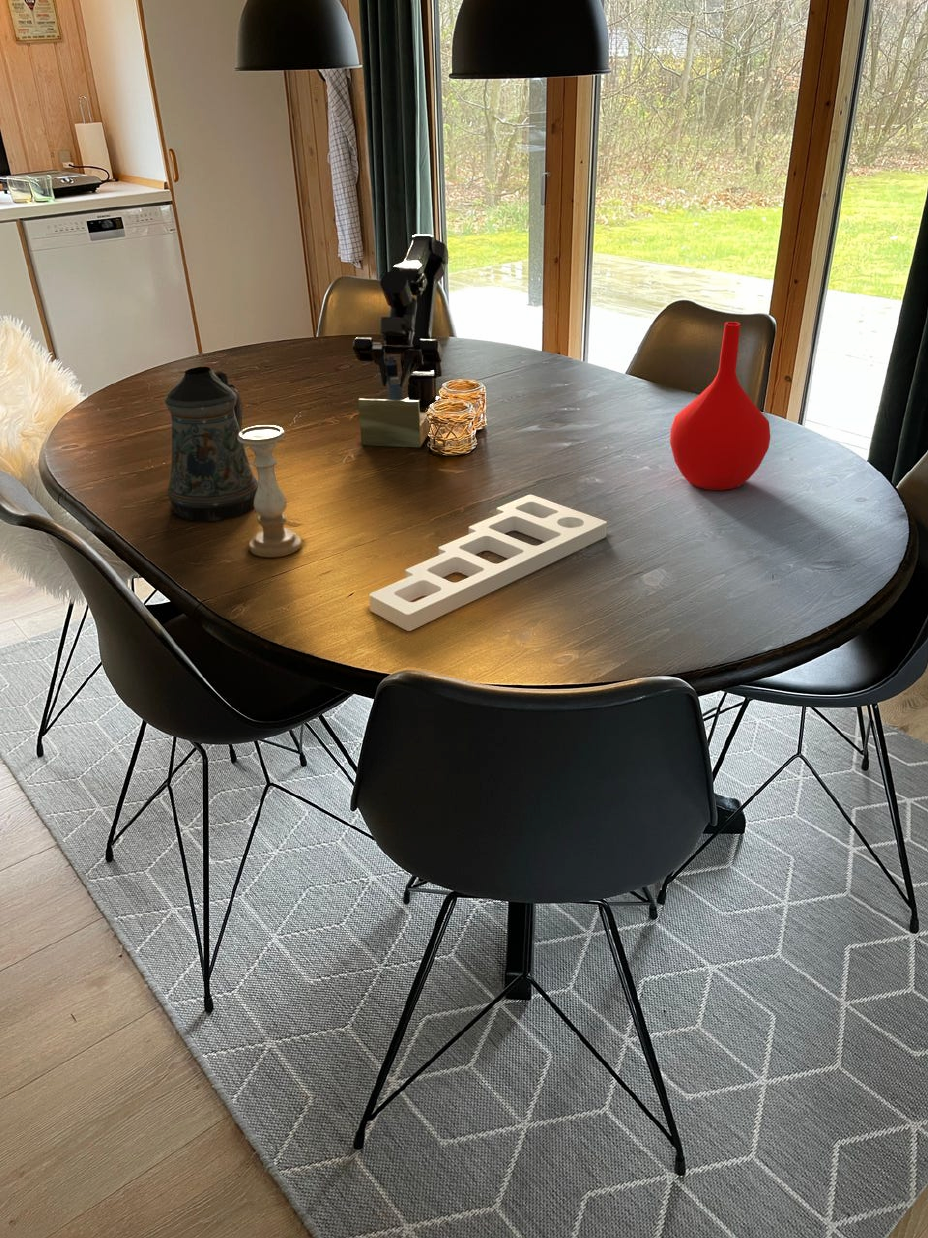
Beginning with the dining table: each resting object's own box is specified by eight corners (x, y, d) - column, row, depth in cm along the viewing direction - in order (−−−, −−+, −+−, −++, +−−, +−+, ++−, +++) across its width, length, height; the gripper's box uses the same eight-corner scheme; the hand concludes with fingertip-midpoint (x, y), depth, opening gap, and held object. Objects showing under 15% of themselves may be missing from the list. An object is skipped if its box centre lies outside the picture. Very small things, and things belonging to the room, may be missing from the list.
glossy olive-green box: (373, 430, 216) (370, 386, 211) (429, 432, 214) (428, 387, 209) (361, 445, 207) (358, 399, 202) (420, 447, 205) (418, 401, 200)
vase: (658, 493, 181) (672, 332, 166) (674, 460, 195) (688, 309, 181) (758, 504, 175) (782, 338, 160) (767, 469, 190) (789, 315, 175)
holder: (408, 631, 138) (407, 615, 136) (332, 590, 149) (331, 575, 148) (607, 536, 164) (608, 521, 163) (530, 507, 176) (530, 494, 174)
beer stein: (168, 526, 172) (142, 388, 160) (174, 486, 188) (151, 359, 176) (261, 516, 175) (243, 380, 162) (259, 478, 191) (242, 352, 179)
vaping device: (399, 409, 212) (395, 354, 205) (404, 416, 207) (400, 361, 201) (388, 410, 211) (384, 355, 205) (392, 417, 207) (388, 362, 201)
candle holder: (277, 562, 158) (262, 444, 148) (238, 551, 162) (221, 435, 152) (312, 542, 165) (299, 428, 154) (273, 532, 169) (259, 420, 159)
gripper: (350, 298, 202) (340, 365, 198) (437, 300, 199) (428, 367, 195) (363, 327, 213) (354, 391, 209) (446, 329, 210) (437, 394, 206)
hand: (392, 385), depth 205 cm, fingers closed on vaping device, 3 cm apart
